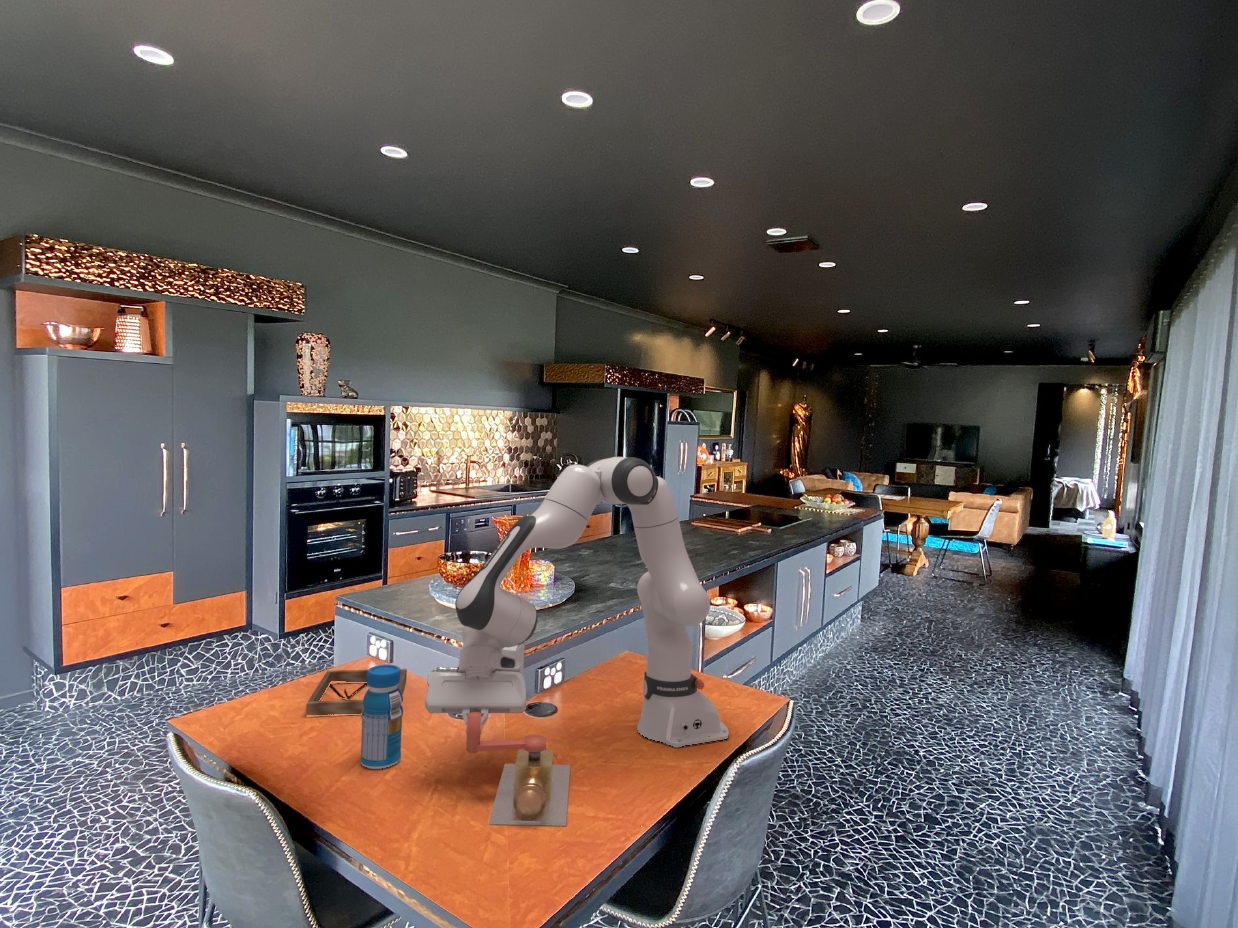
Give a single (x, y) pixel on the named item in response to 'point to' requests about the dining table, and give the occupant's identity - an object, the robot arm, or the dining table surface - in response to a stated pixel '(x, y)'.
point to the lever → (475, 745)
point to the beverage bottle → (382, 718)
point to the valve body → (532, 791)
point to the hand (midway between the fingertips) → (473, 733)
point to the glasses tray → (345, 705)
